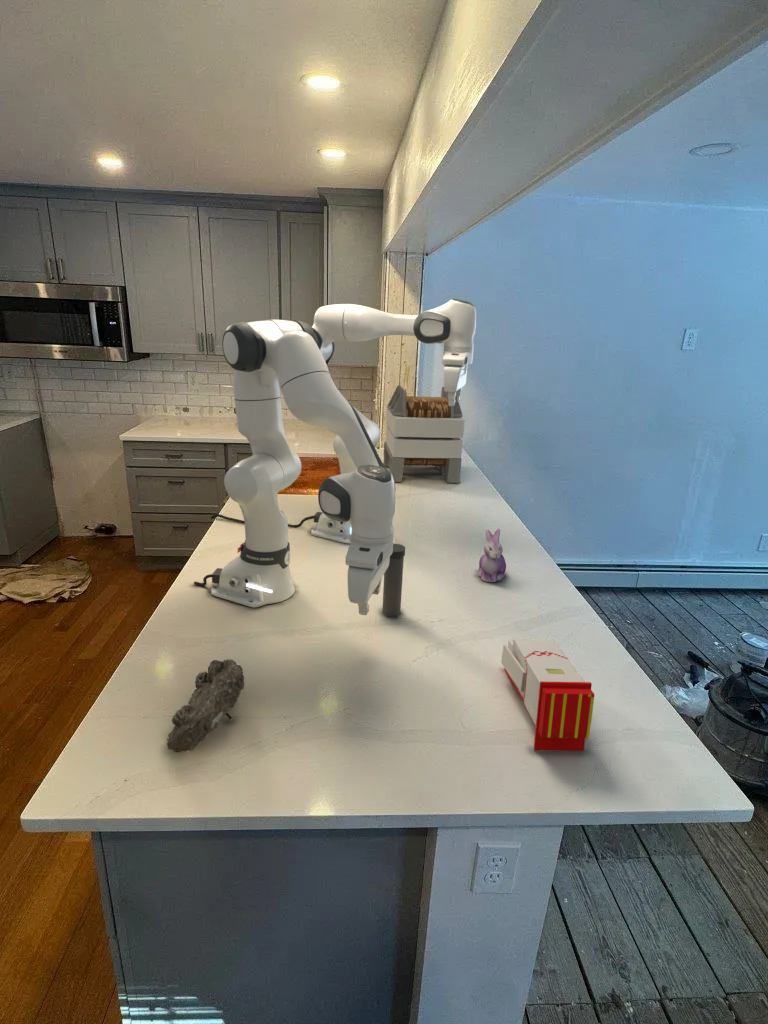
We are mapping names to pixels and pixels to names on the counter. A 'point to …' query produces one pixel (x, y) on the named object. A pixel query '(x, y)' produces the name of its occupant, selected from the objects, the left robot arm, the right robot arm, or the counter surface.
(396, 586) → the dark grey long cylinder
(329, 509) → the left robot arm
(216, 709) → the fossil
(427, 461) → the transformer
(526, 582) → the counter surface
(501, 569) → the figurine
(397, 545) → the lid
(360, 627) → the counter surface
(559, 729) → the toy
